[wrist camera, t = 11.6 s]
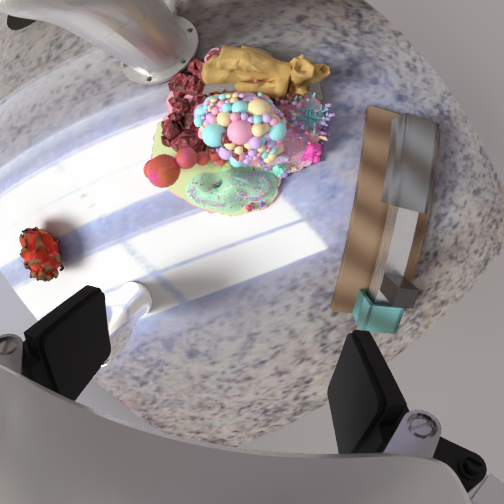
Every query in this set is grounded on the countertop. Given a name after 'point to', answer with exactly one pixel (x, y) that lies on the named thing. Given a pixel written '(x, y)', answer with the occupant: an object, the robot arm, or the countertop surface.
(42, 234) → the dragon fruit
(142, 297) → the beer glass
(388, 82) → the countertop surface
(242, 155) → the candy landscape model
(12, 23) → the plate
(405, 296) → the inner tube
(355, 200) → the tube rig
